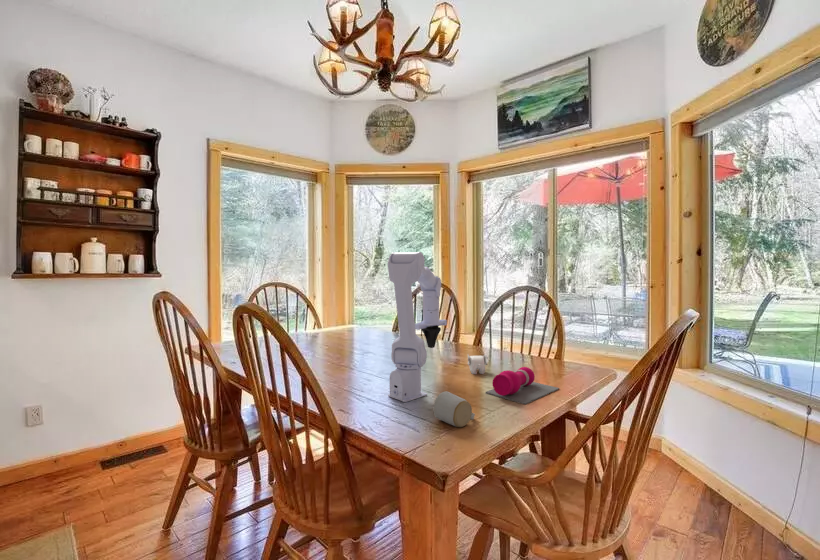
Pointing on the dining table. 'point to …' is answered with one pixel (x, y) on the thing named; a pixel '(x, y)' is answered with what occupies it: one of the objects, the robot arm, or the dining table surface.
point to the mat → (527, 393)
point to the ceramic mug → (452, 409)
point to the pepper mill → (512, 380)
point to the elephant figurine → (477, 363)
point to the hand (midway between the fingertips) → (431, 347)
